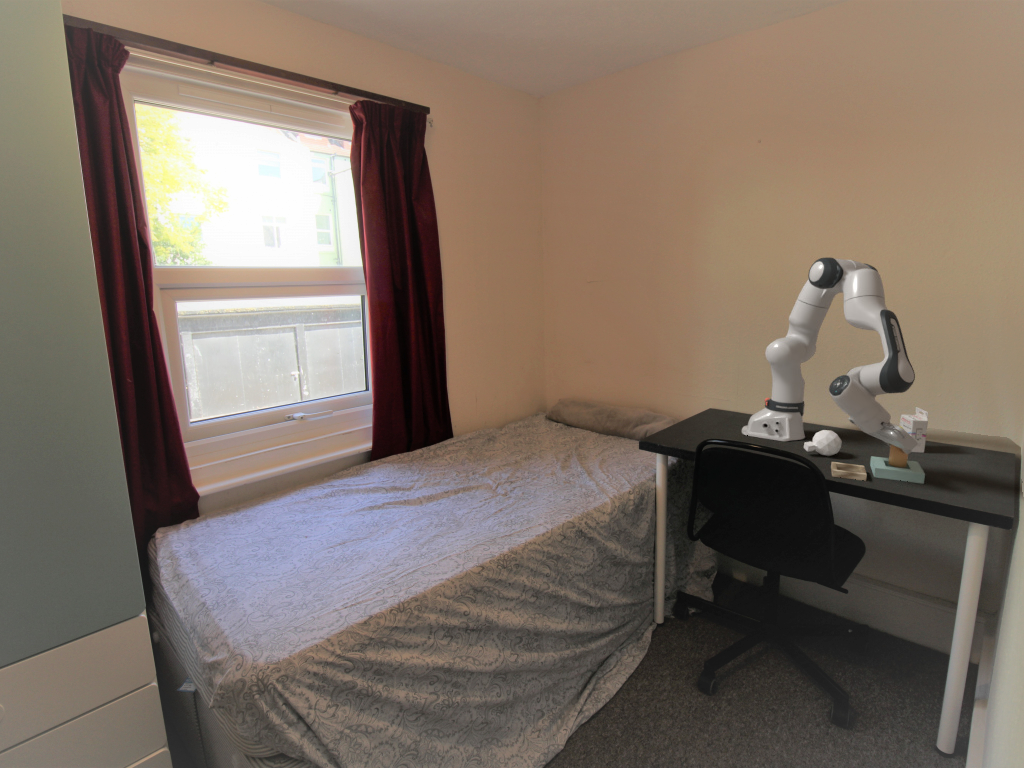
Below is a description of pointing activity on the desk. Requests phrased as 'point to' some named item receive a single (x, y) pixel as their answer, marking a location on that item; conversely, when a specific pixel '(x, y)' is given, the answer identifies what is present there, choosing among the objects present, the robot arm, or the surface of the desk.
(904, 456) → the plug
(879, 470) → the socket block
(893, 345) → the robot arm
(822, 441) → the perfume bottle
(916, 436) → the ink cartridge box
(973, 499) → the desk surface
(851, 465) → the square wooden frame
